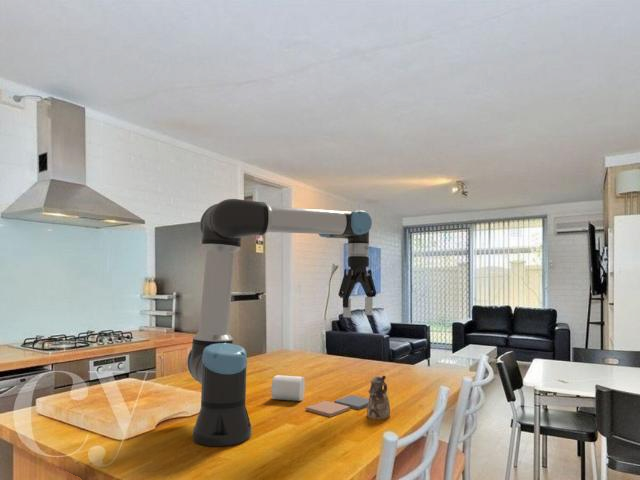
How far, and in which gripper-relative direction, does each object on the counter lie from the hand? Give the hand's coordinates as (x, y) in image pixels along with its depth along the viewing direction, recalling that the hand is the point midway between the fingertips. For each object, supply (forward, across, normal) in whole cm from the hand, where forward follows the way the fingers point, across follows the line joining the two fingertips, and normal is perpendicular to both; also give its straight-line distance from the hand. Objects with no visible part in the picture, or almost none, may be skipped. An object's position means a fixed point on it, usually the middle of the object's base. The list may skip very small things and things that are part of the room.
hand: (358, 316), depth 156 cm
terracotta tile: (+29, -16, 0) cm, 33 cm away
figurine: (+29, -10, -14) cm, 34 cm away
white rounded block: (+29, -14, +20) cm, 38 cm away
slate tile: (+29, -4, -2) cm, 29 cm away
